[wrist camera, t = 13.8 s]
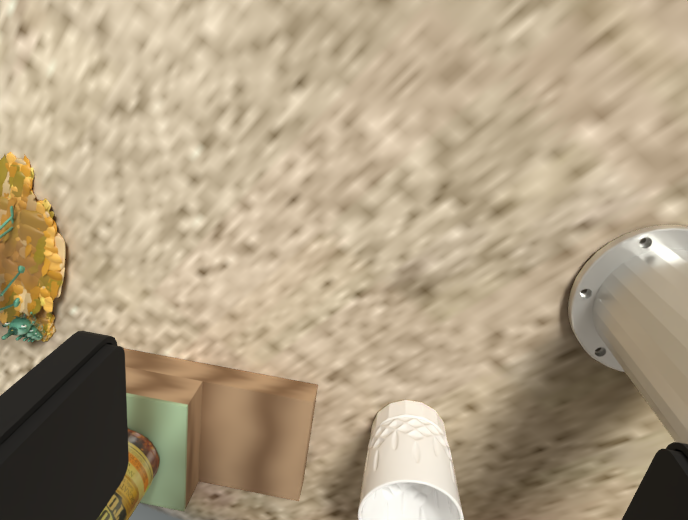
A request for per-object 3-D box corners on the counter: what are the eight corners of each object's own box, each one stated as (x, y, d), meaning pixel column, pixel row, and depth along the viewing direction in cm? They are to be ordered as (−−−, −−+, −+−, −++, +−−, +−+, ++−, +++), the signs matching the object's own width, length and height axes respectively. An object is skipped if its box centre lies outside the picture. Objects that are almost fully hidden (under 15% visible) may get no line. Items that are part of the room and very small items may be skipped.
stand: (318, 384, 45) (306, 430, 40) (303, 480, 50) (291, 533, 44) (109, 345, 46) (69, 384, 41) (113, 443, 51) (78, 490, 45)
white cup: (350, 435, 47) (338, 526, 38) (396, 379, 44) (395, 463, 35) (419, 473, 48) (423, 571, 39) (468, 421, 45) (485, 514, 36)
